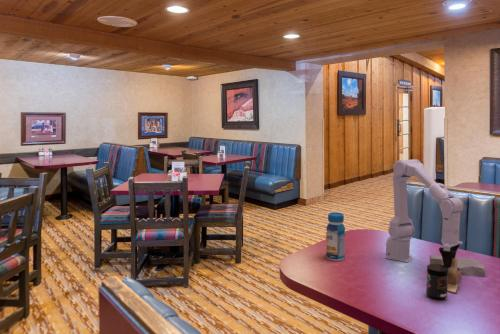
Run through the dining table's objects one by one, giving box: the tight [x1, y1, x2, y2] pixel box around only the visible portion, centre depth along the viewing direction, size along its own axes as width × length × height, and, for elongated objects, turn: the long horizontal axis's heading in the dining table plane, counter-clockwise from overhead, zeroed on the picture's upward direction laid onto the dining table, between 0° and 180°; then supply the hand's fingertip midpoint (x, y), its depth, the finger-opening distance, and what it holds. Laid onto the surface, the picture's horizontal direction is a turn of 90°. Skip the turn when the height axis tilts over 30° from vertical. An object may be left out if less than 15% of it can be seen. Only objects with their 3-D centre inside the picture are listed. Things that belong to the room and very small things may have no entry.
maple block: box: [442, 257, 458, 275], centre depth 145 cm, size 4×4×5 cm
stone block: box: [457, 257, 486, 277], centre depth 155 cm, size 12×5×10 cm
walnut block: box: [448, 271, 462, 286], centre depth 146 cm, size 7×7×4 cm
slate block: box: [428, 254, 442, 265], centre depth 156 cm, size 4×4×5 cm
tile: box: [447, 284, 460, 295], centre depth 139 cm, size 7×7×1 cm
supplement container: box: [425, 264, 449, 301], centre depth 132 cm, size 7×7×10 cm
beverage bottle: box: [325, 212, 346, 262], centre depth 170 cm, size 8×8×20 cm
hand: (448, 263), depth 145 cm, fingers open, 7 cm apart
